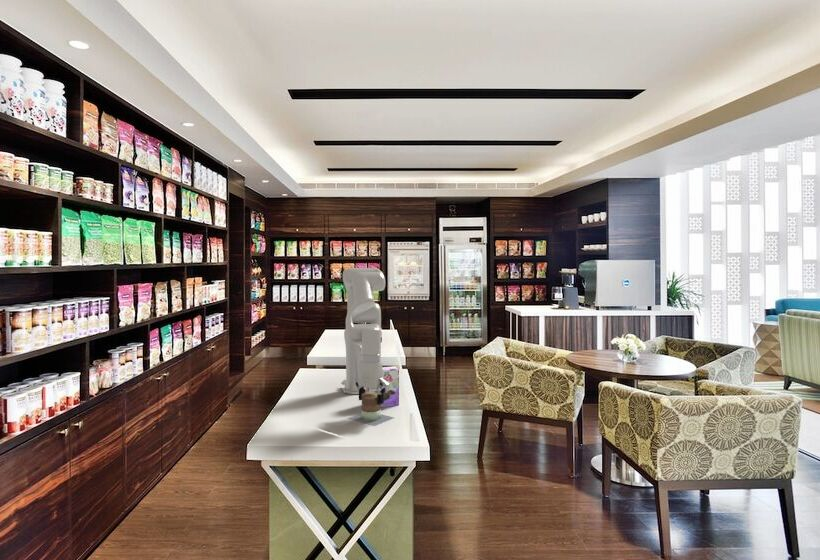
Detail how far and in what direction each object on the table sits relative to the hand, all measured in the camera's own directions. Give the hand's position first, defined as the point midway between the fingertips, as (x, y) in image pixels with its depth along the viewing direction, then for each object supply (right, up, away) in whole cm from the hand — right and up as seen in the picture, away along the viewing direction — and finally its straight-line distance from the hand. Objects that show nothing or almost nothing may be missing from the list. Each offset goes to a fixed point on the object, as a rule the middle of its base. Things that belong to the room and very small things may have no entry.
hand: (371, 401), depth 183 cm
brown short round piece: (0, -3, 0) cm, 3 cm away
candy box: (+3, -7, +18) cm, 19 cm away
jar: (0, -7, 0) cm, 6 cm away
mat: (0, -7, 0) cm, 7 cm away
